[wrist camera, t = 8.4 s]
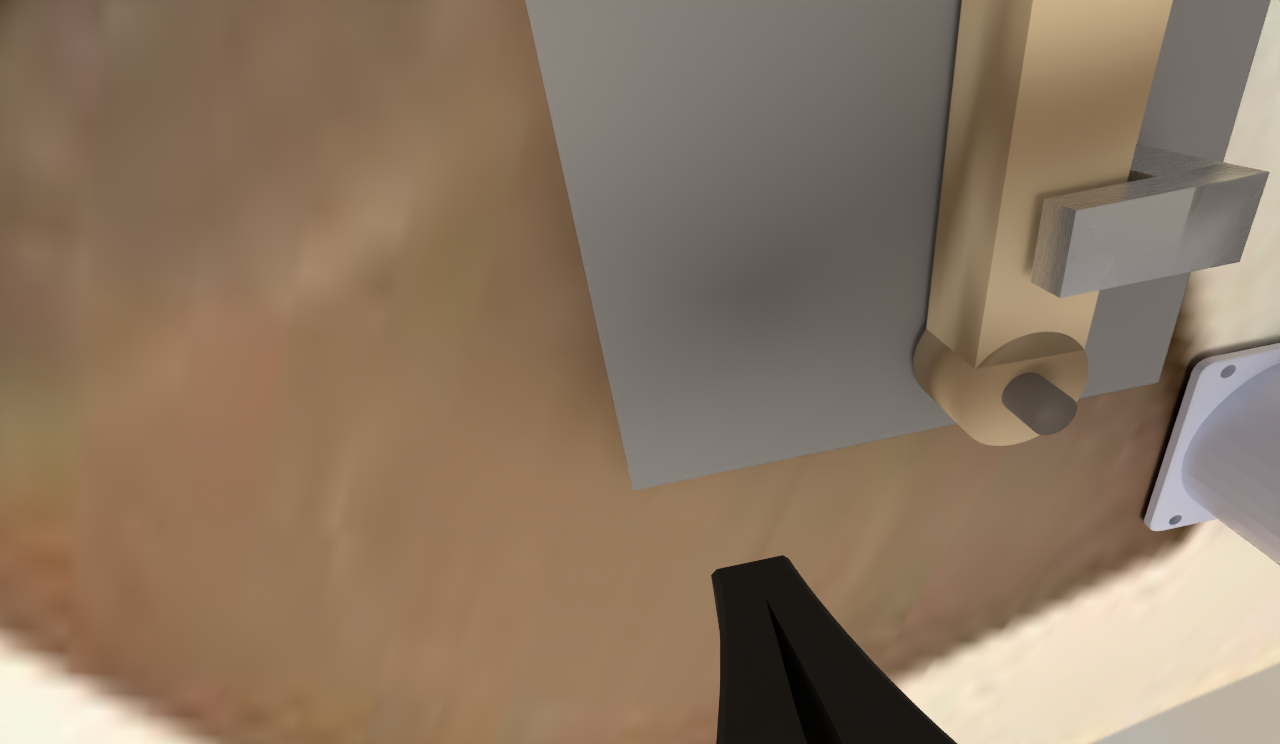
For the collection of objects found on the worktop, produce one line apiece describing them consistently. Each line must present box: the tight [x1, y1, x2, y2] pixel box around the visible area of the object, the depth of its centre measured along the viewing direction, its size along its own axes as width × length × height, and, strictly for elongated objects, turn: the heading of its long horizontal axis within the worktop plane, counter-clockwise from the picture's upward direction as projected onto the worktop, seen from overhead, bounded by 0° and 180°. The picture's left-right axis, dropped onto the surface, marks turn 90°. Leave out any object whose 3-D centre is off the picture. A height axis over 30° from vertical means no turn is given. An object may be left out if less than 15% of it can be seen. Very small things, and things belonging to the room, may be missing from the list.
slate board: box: [525, 0, 1270, 491], centre depth 17 cm, size 18×18×1 cm
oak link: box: [913, 0, 1173, 446], centre depth 15 cm, size 14×4×4 cm, turn 8°
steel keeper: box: [1031, 144, 1269, 298], centre depth 15 cm, size 4×2×4 cm, turn 99°
